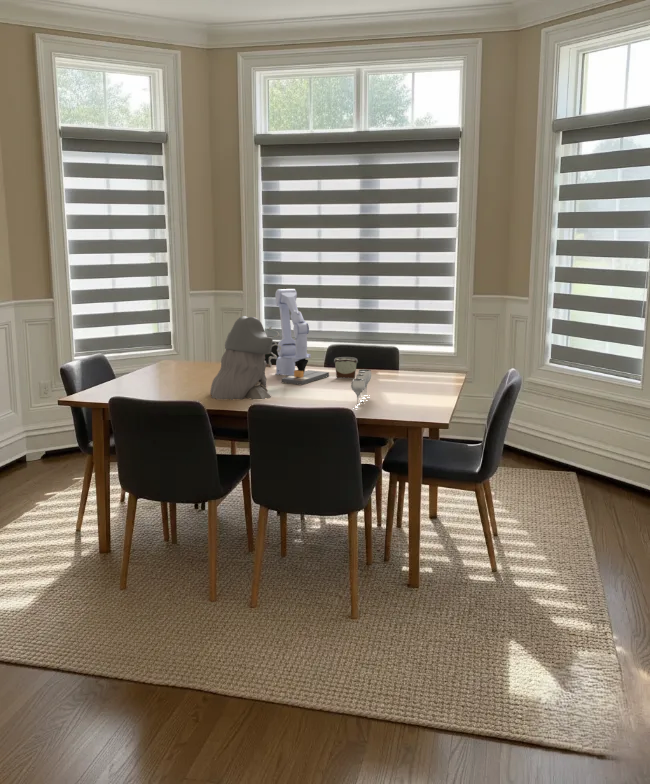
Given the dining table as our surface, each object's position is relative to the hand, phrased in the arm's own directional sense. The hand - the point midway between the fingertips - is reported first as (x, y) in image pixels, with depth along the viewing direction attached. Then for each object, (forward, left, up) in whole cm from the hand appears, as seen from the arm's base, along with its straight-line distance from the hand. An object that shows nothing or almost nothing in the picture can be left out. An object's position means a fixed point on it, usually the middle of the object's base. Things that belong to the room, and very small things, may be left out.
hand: (301, 374), depth 365 cm
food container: (+15, +19, -3) cm, 24 cm away
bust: (-8, -38, -3) cm, 39 cm away
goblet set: (+48, -28, -3) cm, 56 cm away
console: (0, +4, -3) cm, 5 cm away
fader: (0, -3, -1) cm, 3 cm away
